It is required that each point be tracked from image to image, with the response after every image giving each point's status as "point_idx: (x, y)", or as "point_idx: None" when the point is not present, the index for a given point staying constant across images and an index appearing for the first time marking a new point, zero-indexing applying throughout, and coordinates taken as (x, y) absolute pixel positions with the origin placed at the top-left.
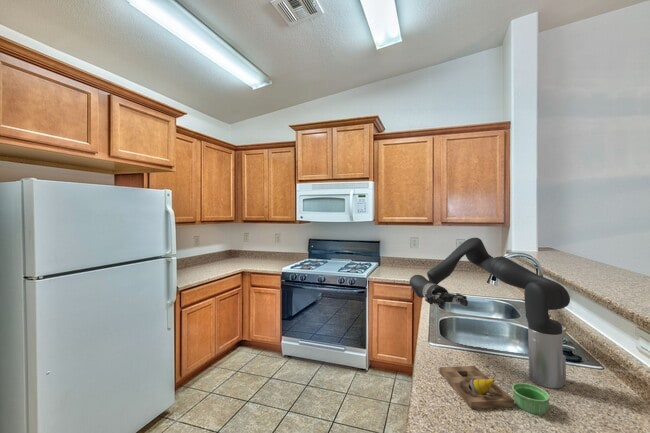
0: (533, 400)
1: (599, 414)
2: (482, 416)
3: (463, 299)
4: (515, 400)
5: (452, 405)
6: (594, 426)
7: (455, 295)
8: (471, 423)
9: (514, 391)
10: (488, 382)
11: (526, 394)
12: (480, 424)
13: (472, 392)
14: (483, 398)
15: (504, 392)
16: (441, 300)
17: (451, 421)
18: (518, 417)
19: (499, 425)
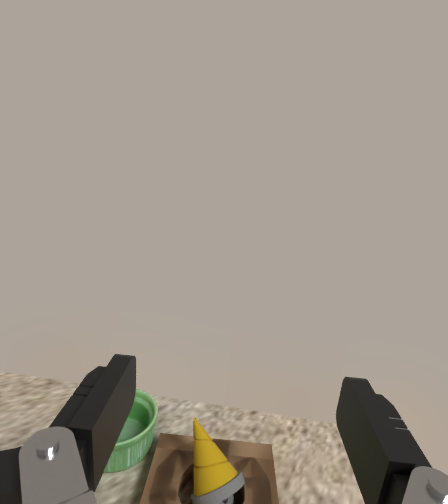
0: (146, 393)
1: (12, 400)
2: (256, 435)
3: (124, 372)
4: (150, 442)
5: (311, 479)
6: (72, 384)
7: (85, 490)
8: (289, 424)
9: (155, 421)
10: (208, 435)
11: None
12: (273, 419)
13: (246, 477)
14: (232, 450)
15: (155, 460)
16: (370, 385)
17: (328, 435)
18: (183, 421)
19: (238, 412)
